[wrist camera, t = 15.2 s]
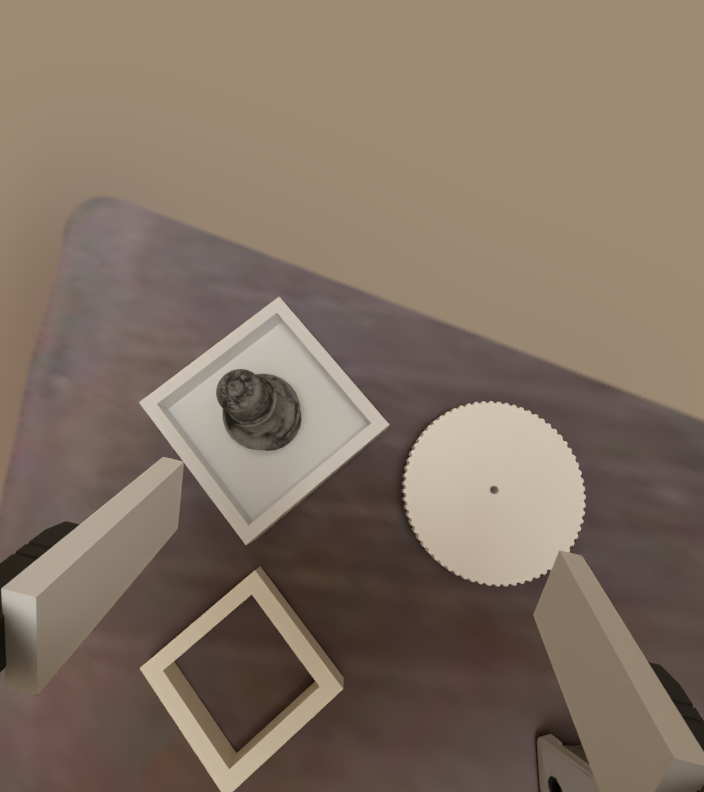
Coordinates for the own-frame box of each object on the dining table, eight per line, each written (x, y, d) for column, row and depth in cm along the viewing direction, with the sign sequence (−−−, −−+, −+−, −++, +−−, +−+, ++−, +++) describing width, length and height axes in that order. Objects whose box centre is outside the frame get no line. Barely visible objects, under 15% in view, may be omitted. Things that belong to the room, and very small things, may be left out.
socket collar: (343, 677, 34) (343, 689, 32) (233, 780, 33) (225, 798, 31) (260, 566, 36) (254, 570, 34) (151, 658, 34) (139, 668, 32)
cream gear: (597, 459, 38) (614, 456, 35) (525, 614, 35) (538, 624, 33) (449, 378, 39) (455, 370, 37) (369, 521, 37) (371, 523, 34)
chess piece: (319, 420, 37) (304, 385, 26) (266, 469, 36) (224, 457, 25) (273, 370, 38) (237, 315, 27) (220, 417, 37) (158, 382, 26)
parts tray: (386, 430, 38) (389, 424, 35) (254, 541, 36) (245, 545, 33) (284, 311, 40) (279, 296, 37) (155, 409, 38) (139, 402, 35)
